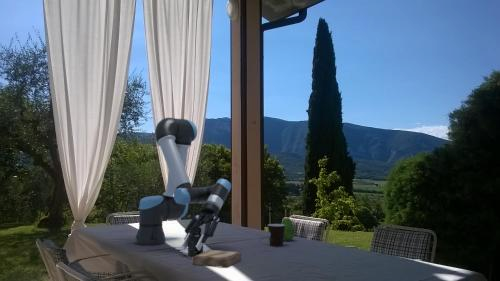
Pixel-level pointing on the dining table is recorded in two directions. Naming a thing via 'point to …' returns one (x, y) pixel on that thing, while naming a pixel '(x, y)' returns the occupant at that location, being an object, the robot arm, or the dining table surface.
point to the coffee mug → (276, 234)
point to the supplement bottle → (194, 242)
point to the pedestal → (217, 258)
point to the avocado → (288, 229)
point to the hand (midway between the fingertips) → (190, 247)
